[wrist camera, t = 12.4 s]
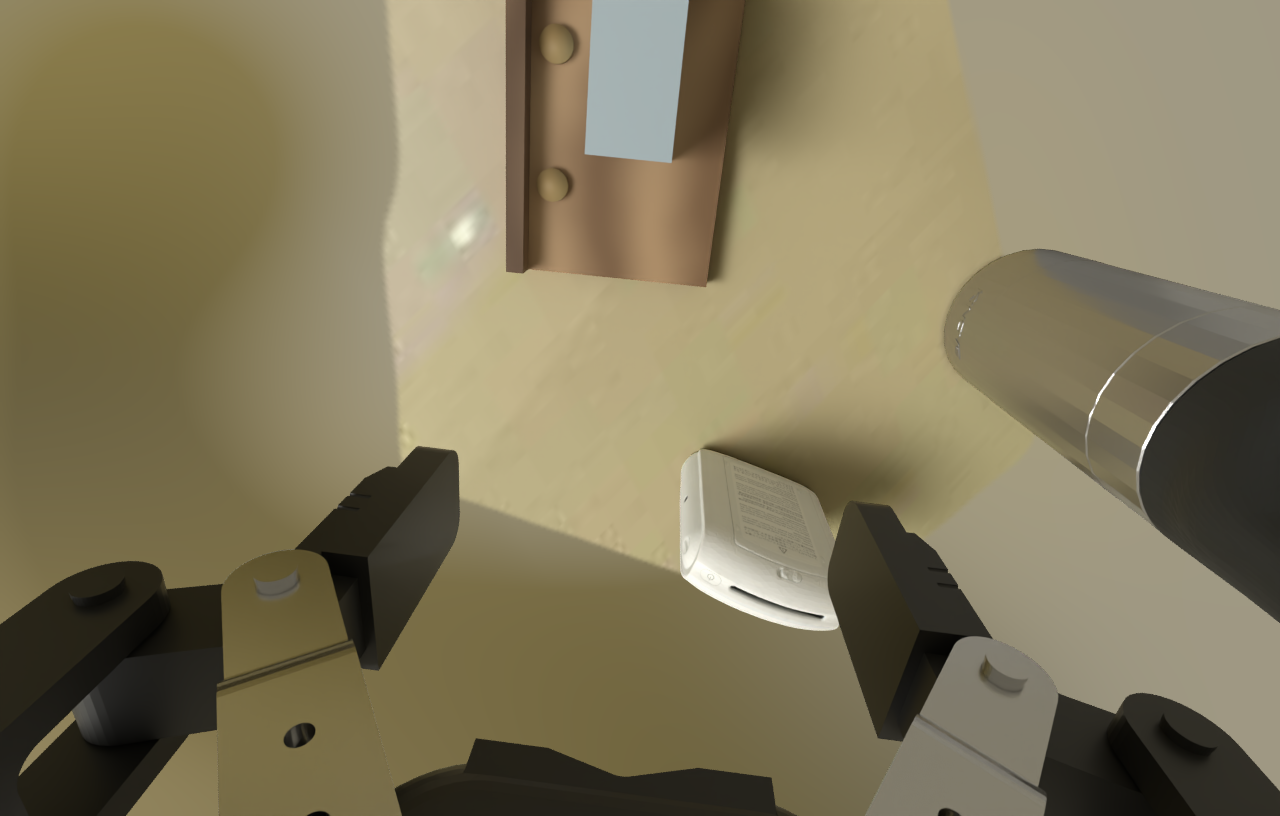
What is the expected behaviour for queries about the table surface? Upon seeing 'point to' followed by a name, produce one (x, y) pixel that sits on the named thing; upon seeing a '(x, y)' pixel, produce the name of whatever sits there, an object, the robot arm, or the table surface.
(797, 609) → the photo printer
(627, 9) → the tall pale blue block
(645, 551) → the table surface
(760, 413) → the table surface
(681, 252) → the board
